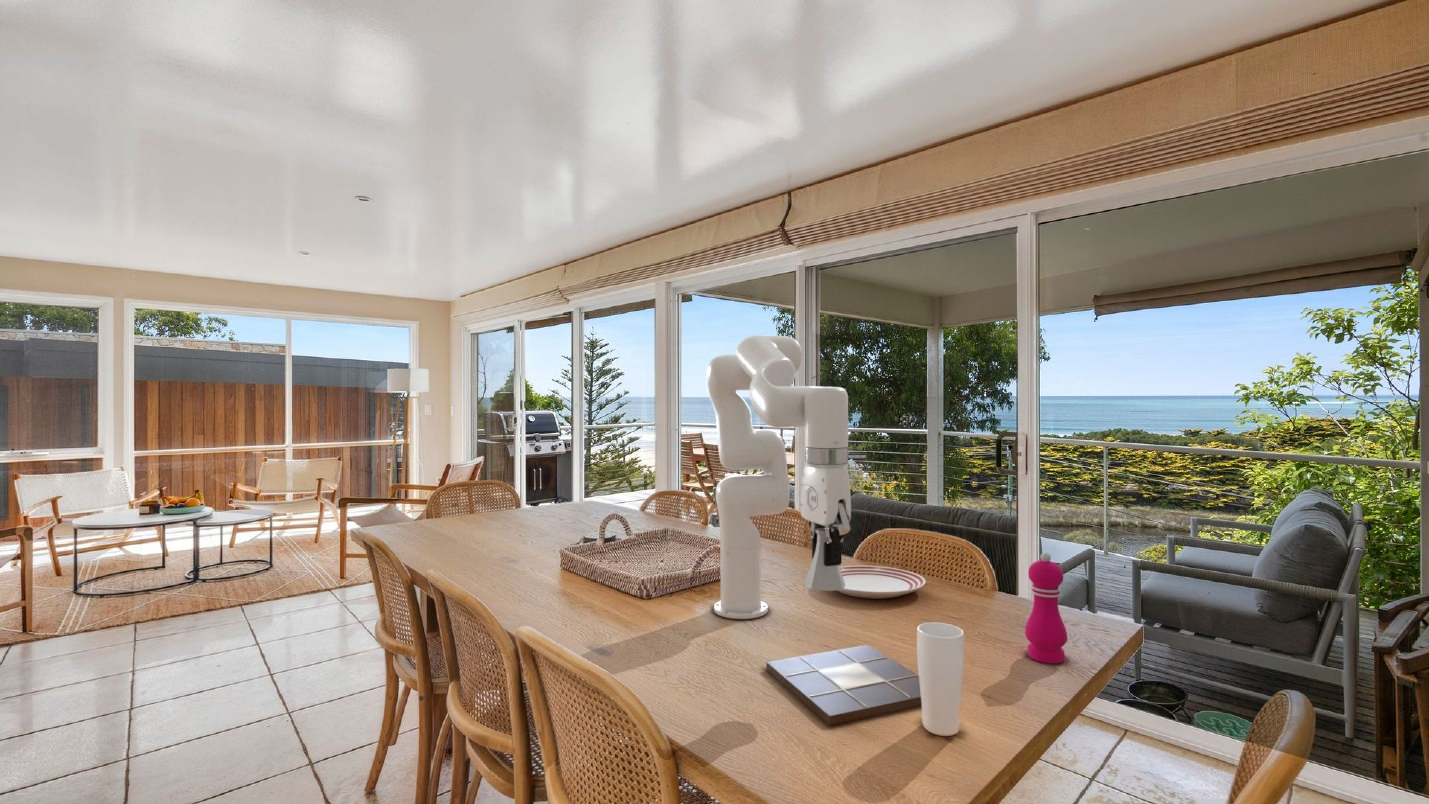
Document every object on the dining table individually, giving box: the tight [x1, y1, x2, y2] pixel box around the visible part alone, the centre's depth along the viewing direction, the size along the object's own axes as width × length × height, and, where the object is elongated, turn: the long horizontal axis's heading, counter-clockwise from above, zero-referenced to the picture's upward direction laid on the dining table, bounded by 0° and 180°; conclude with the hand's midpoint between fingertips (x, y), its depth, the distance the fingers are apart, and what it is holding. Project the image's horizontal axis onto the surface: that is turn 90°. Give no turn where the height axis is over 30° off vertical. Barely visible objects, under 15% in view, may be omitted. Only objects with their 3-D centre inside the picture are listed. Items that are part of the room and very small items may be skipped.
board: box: [765, 644, 922, 727], centre depth 114 cm, size 22×22×2 cm
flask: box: [803, 528, 845, 592], centre depth 114 cm, size 7×7×10 cm
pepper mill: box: [1024, 552, 1068, 664], centre depth 125 cm, size 7×7×20 cm
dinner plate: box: [836, 565, 927, 599], centre depth 170 cm, size 27×27×3 cm
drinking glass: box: [916, 621, 965, 737], centre depth 98 cm, size 7×7×15 cm
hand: (826, 561), depth 114 cm, fingers closed on flask, 3 cm apart
